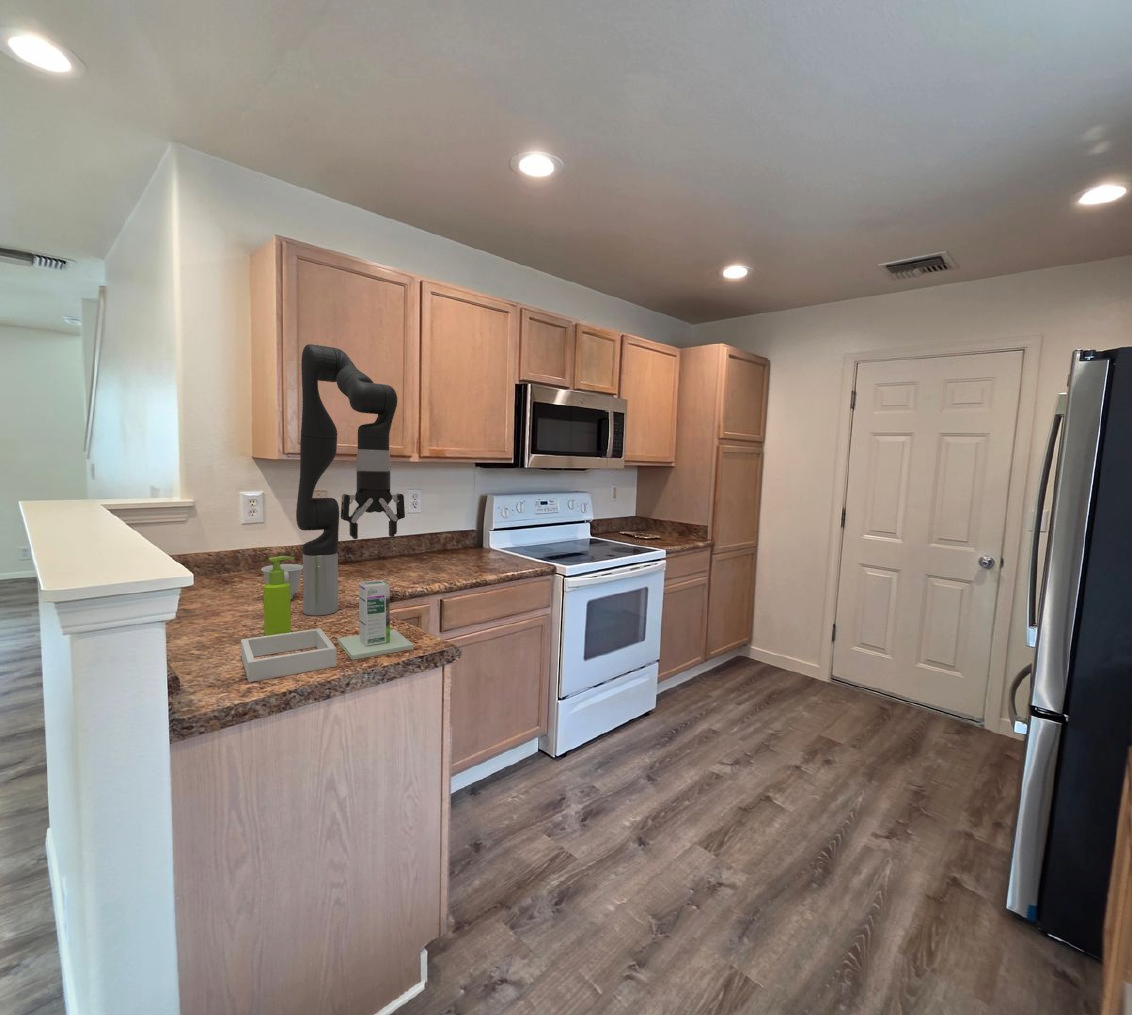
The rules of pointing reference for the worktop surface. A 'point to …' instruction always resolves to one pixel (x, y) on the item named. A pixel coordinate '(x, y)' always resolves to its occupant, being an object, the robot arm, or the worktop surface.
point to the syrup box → (374, 612)
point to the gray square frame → (289, 662)
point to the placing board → (374, 646)
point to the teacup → (287, 575)
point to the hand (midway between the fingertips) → (373, 537)
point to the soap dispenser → (277, 600)
